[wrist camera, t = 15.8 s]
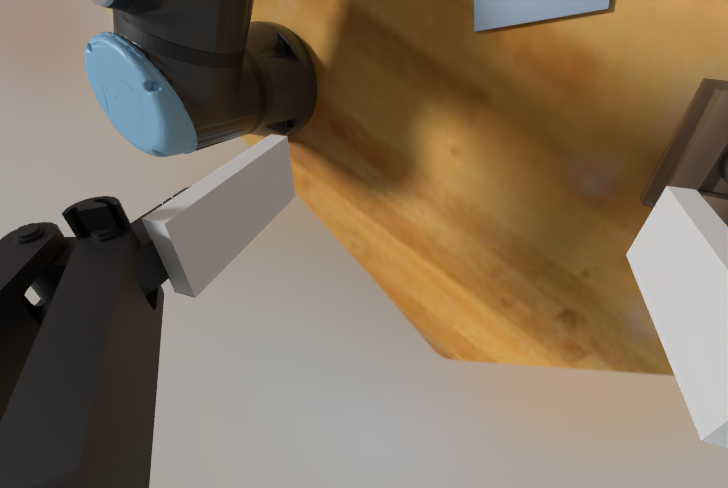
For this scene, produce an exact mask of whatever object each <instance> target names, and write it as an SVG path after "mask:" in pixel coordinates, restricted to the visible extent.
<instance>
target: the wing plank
mask: <svg viewBox="0 0 728 488" xmlns="http://www.w3.org/2000/svg"><path fill="white" fill-rule="evenodd" d="M609 1H610V0H474V32H476V31H482V30H488V29H494V28H500V27H506V26H511V25H517V24H523V23H529V22H535V21H541V20H546V19H552V18H558V17H564V16H570V15H575V14H581V13H587V12H593V11H599V10H605V9H608V7H609Z"/></svg>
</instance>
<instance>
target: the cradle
mask: <svg viewBox="0 0 728 488" xmlns="http://www.w3.org/2000/svg"><path fill="white" fill-rule="evenodd" d="M727 151H728V81H723V80H713V79H703V81H702V83H701V85H700V86H699V88H698V90H697V92H696V94H695V96H694V98H693V100H692V102H691V103H690V105H689V107H688V109H687V111H686V113H685V115H684V117H683V119H682V120H681V122H680V124H679V126H678V128H677V130H676V132H675V134H674V136H673V137H672V139H671V141H670V143H669V145H668V147H667V149H666V151H665V153H664V155H663V156H662V158H661V160H660V162H659V164H658V166H657V168H656V170H655V172H654V173H653V175H652V177H651V179H650V181H649V183H648V185H647V187H646V189H645V190H644V192H643V194H642V196H641V198H640V200H641V202H642V204H643V205H644V206H648V207H653V208H654V206H655V205H656V203H657V201H658V200H659V198H660V196H661V194H662V193H663V191H664V189H665V188H666V186H672V187H679V188H687V189H695V190H697V191H698V193H699V194H700V195H701V196H702V197H703V198H704V200H705V201H706V202H707V203H708V204H709V205H710V207H711V208H712V209H713V210H714V211H715V212H716V214H717V215H718V216H719V217H720V218H721V219H722V221H723V222H724V223H725V224H728V183H727V182H726V181H725V180H724V179H723V178H722V177H721V175H720V173H719V163H720V161H721V159H722V157H723V156H724V154H725V153H726V152H727Z"/></svg>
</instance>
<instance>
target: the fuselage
mask: <svg viewBox="0 0 728 488" xmlns="http://www.w3.org/2000/svg"><path fill="white" fill-rule="evenodd" d="M719 173H720V175H721V177H722V178H723V179H724V180H725V181H726V182H727V183H728V151H727V152H726V153H725V154H724V156H723V157H722V159H721V161H720V163H719Z"/></svg>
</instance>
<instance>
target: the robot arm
mask: <svg viewBox="0 0 728 488" xmlns="http://www.w3.org/2000/svg"><path fill="white" fill-rule="evenodd" d="M91 1H92V2H93V3H94V4H96V5H98V6H102V7H106V8H112V9H113V19H114V20H113V23H114V33H111V32H103V33H100V34H99V35H96V36H93V37H92V38H91V40H90V42H89V43H87V45H86V48H85V67H86V72H87V76H88V79H89V82H90V85H91V88H92V90H93V92H94V94H95V97H96V99H97V100H98V103H99V104H100V106H101V108H102V110H103V111H104V113H105V114H106V115H107V117H108V119H109V120H110V121H111V123H112V124H113V126H114V127H115V128H116V129H117V130H118V131H119V133H120V134H121V135H122V136H123V137H124V138H125V139H126V140H128V141H129V142H130V143H131V144H132V145H134V146H135V147H136V148H138V149H140V150H141V151H143V152H145V153H147V154H150V155H153V156H157V157H168V156H173V155H177V154H182V153H185V154H186V153H187V154H188V153H192V152H193V151H196V150H199V149H203V148H206V147H209V146H212V145H215V144H218V143H221V142H224V141H227V140H230V139H233V138H237V137H240V136H243V135H246V134H253V135H259V136H265V137H266V138H264V139H262V140H261V141H259V142H258V143H256V144H255V145H253V146H252V147H250V148H249V149H247V150H246V151H244V152H243V153H241V154H240V155H238V156H237V157H235V158H233V159H232V160H230V161H229V162H227V163H226V164H224V165H223V166H221V167H220V168H218V169H217V170H215V171H214V172H212V173H211V174H209V175H208V176H206V177H205V178H203V179H202V180H200V181H198V182H197V183H195V184H194V185H192V186H190V187H188V188H185V189H183V190H181V191H180V192H179V193H177V194H175V195H174V196H173V198H169V199H168V200H166V201H164V202H163V204H160V205H158V206H157V207H155V208H154V209H152V210H151V211H149V212H148V213H146V214H144V215H143V216H141V217H140V218H138V219H137V220H135V221H134V222H132V223H131V224H130V222H129V220H128V218H127V216H126V214H125V211H124V209H123V207H122V205H121V203H120V201H119V200H118V199H116V198H115V197H109V196H102V197H95V198H90V199H85V200H83V201H80V202H78V203H75V204H74V205H72V206H70V207H68V208H67V209H66V210H65V211H64V212H63V213H62V215H63V216H64V218H65V220H66V221H67V223H68V224H69V226H70V228H71V229H72V231H73V232H74V234H75V236H76V237H64V235H63V234H62V232H61V231H60V229H59V228H58V226H57V225H56V224H53V223H49V222H47V223H46V222H42V223H32V224H28V225H27V226H26V225H24V226H21V227H19V228H18V229H17V230H15V231H12V232H10V233H9V234H7V235H6V236H4V237H3V238H2V239H1V240H0V488H149V481H150V468H151V455H152V442H153V429H154V417H155V403H156V391H157V378H158V365H159V352H160V340H161V327H162V314H163V301H164V292H163V289H162V287H161V284H162V283H164V282H165V281H166V280H167V279H168V278H169V280H170V282H171V284H172V286H173V288H174V291H175V292H177V293H180V294H184V295H187V296H191V297H194V298H196V297H197V296H198V294H199V293H200V292H202V290H204V288H205V287H206V286H207V285H208V284H209V283H210V282H211V281H212V280H213V279H214V278H215V277H216V276H217V275H218V274H219V273H220V272H221V271H222V270H223V269H224V268H225V267H226V266H227V265H228V264H229V263H230V262H231V261H232V260H233V259H234V258H235V257H236V256H237V255H238V254H239V253H240V252H241V251H242V250H243V249H244V248H245V247H246V246H247V245H248V244H249V243H250V242H251V241H252V240H253V239H254V238H255V237H256V236H257V235H258V234H259V233H260V231H261V230H263V229H264V228H265V227H266V226H267V225H268V224H269V223H270V222H271V221H272V219H273V218H274V217H275V216H276V215H277V214H278V213H279V212H280V211H281V210H282V209H283V208H284V207H285V206H286V205H287V204H288V203H289V202H290V201H291V200H292V199H293V198H294V197H295V189H294V181H293V174H292V167H291V159H290V152H289V145H288V137H287V136H286V135H289V134H292V133H295V132H297V131H298V130H300V129H301V128H302V127H303V126H304V125H305V124H306V123H307V122H308V120H309V119H310V117H311V115H312V112H313V110H314V106H315V102H316V94H317V86H316V77H315V72H314V68H313V65H312V62H311V59H310V57H309V55H308V53H307V51H306V49H305V47H304V46H303V44H302V43H301V42H300V40H299V39H298V38H297V37H296V36H295V35H294V34H293V33H292V32H291V31H290V30H288V29H287V28H285V27H283V26H282V25H279V24H277V23H273V22H262V21H255V22H250V21H251V15H252V9H253V3H254V0H91ZM626 256H627V259H628V261H629V264H630V266H631V269H632V271H633V274H634V276H635V279H636V281H637V284H638V286H639V289H640V291H641V293H642V296H643V298H644V301H645V303H646V306H647V308H648V311H649V313H650V316H651V318H652V321H653V323H654V326H655V328H656V331H657V333H658V336H659V338H660V341H661V343H662V345H663V348H664V350H665V353H666V355H667V358H668V360H669V363H670V365H671V368H672V370H673V373H674V375H675V378H676V380H677V383H678V385H679V388H680V390H681V393H682V395H683V397H684V400H685V402H686V405H687V407H688V410H689V412H690V415H691V417H692V419H693V422H694V425H695V427H696V430H697V432H698V434H699V437H700V440H701V441H703V442H707V443H710V444H714V445H717V446H721V447H724V448H728V227H727V225H726V224H725V223H724V222H723V221H722V219H721V218H720V217H719V216H718V215H717V214H716V212H715V211H714V210H713V209H712V208H711V207H710V205H709V204H708V203H707V202H706V201H705V200H704V198H703V197H702V196H701V195H700V194H699V193H698V191H697V190H695V189H687V188H679V187H672V186H666V188H665V189H664V191H663V193H662V194H661V196H660V198H659V200H658V201H657V203H656V205H655V206H654V208H653V210H652V212H651V213H650V215H649V217H648V218H647V220H646V222H645V223H644V225H643V227H642V229H641V230H640V232H639V234H638V235H637V237H636V239H635V240H634V242H633V244H632V246H631V247H630V249H629V251H628V252H627V254H626ZM30 286H31V287H32V288H33V289H34V291H35V292H36V293H37V294H38V296H39V297H40V298H41V299H40V301H39V302H38V303H37V304H36V305H33V304H31V303H30V302H29V300H28V299H27V298H26V297H25V296H24V294H25V292H26V291H27V289H28V288H29V287H30Z"/></svg>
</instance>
